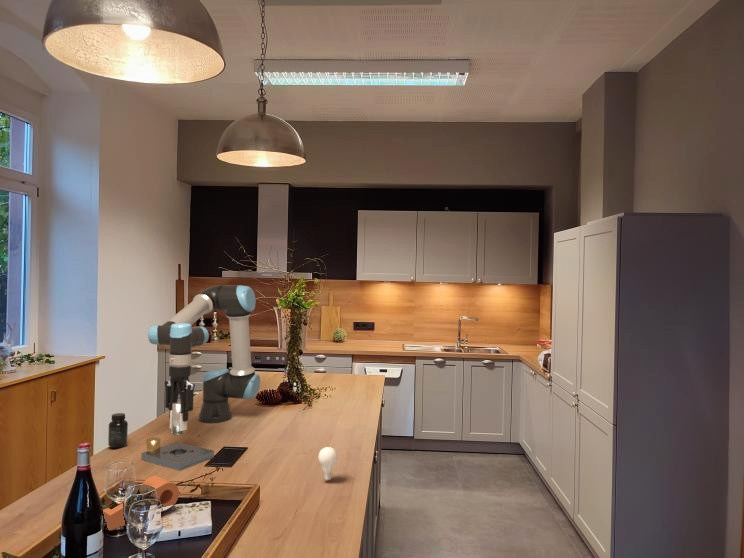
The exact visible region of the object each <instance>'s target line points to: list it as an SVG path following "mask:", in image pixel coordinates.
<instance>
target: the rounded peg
mask: <svg viewBox="0 0 744 558" xmlns="http://www.w3.org/2000/svg"><path fill="white" fill-rule="evenodd" d="M180 412H182V408H181V401H177V402H173V403H172V429H171V434H172V435H175V436H176V435H177V436H178V435H184V434H185V432H186V430H183V431H180Z"/></svg>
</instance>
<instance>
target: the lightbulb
mask: <svg viewBox="0 0 744 558" xmlns="http://www.w3.org/2000/svg"><path fill="white" fill-rule="evenodd" d="M317 458H318V461H319V464H320V465H321V468H322V471H323V477H322V478H323V480H325V481H326V482H327V481H330V480H331V479H332V473H333V468H334V466H335V464H336V463H337V460H338V453H337V451H336V449H334V448H333V447H331V446H326V447H323V448H321V450H319V452H318V457H317Z"/></svg>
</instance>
